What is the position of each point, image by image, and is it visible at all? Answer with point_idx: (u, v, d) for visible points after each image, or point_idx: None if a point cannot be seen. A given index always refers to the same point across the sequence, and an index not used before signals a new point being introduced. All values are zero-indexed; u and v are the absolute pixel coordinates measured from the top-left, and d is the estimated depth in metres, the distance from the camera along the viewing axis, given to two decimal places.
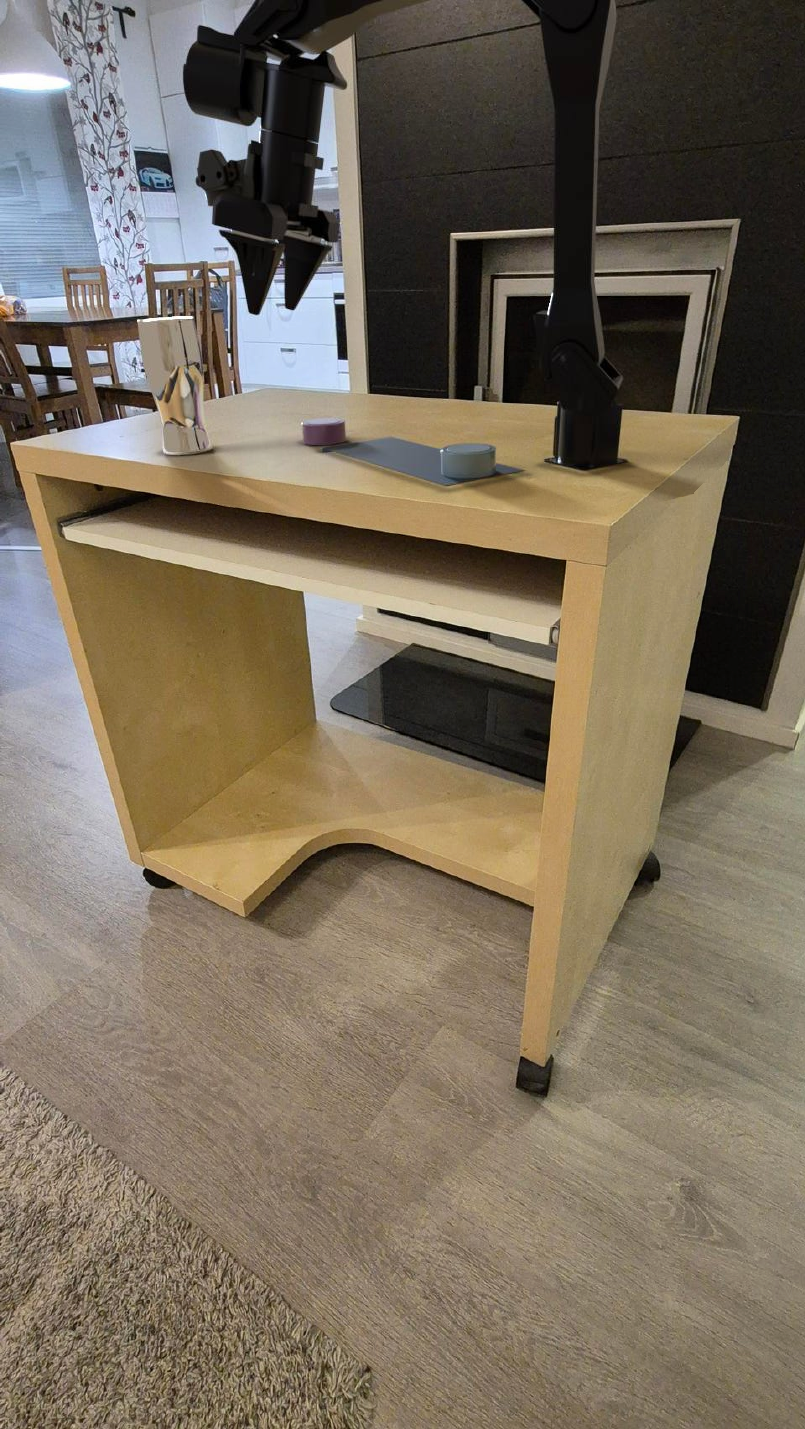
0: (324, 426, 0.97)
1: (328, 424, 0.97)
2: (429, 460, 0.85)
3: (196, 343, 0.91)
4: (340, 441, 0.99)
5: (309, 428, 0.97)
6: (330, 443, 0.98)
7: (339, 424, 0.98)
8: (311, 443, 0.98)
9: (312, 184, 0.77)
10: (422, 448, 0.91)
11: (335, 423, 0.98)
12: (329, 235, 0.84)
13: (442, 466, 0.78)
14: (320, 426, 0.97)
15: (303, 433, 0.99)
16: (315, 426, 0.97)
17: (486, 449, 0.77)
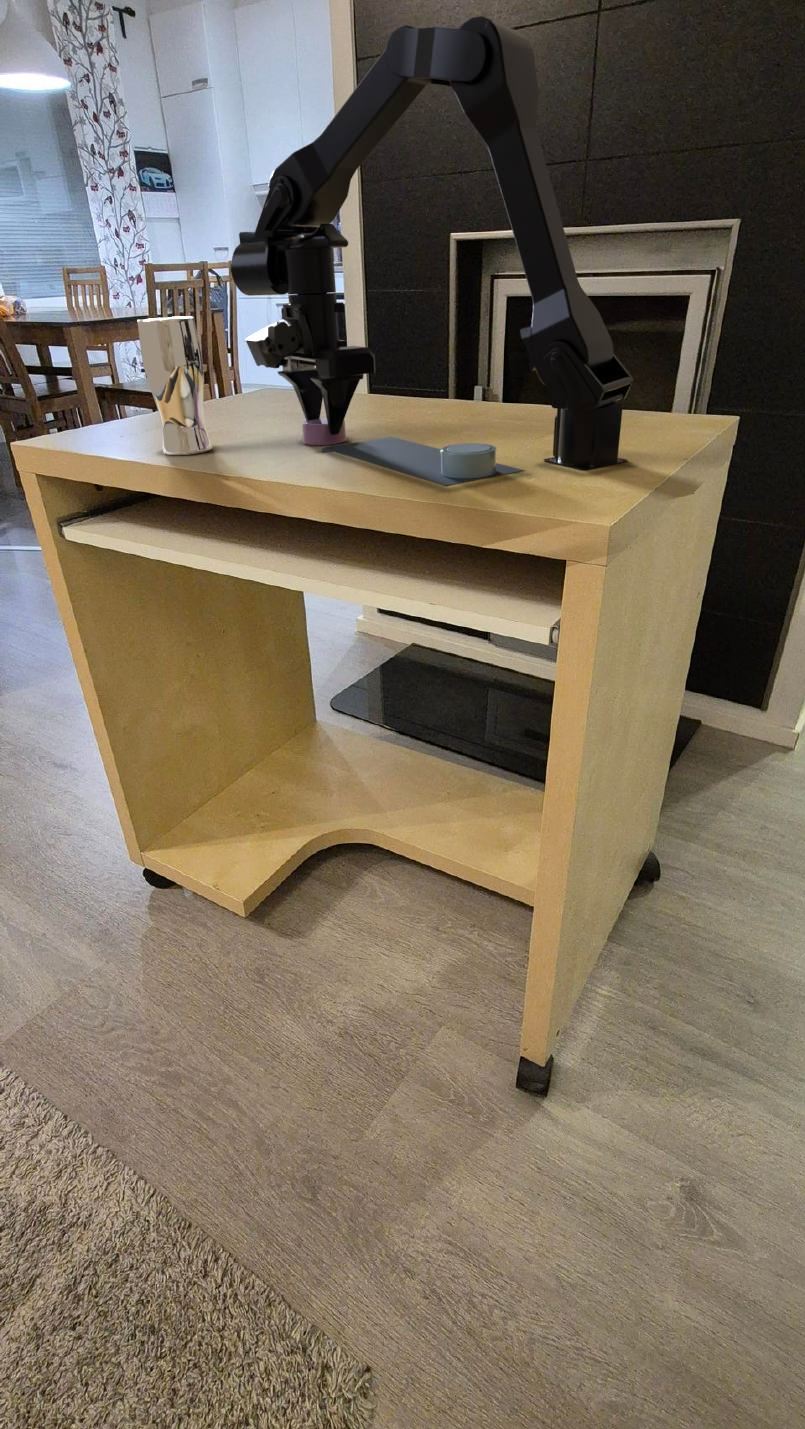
0: (324, 426, 0.97)
1: None
2: (429, 460, 0.85)
3: (196, 343, 0.91)
4: (340, 441, 0.99)
5: (309, 428, 0.97)
6: (330, 443, 0.98)
7: None
8: (311, 443, 0.98)
9: None
10: (422, 448, 0.91)
11: None
12: None
13: (442, 466, 0.78)
14: (320, 426, 0.97)
15: (303, 433, 0.99)
16: (315, 426, 0.97)
17: (486, 449, 0.77)
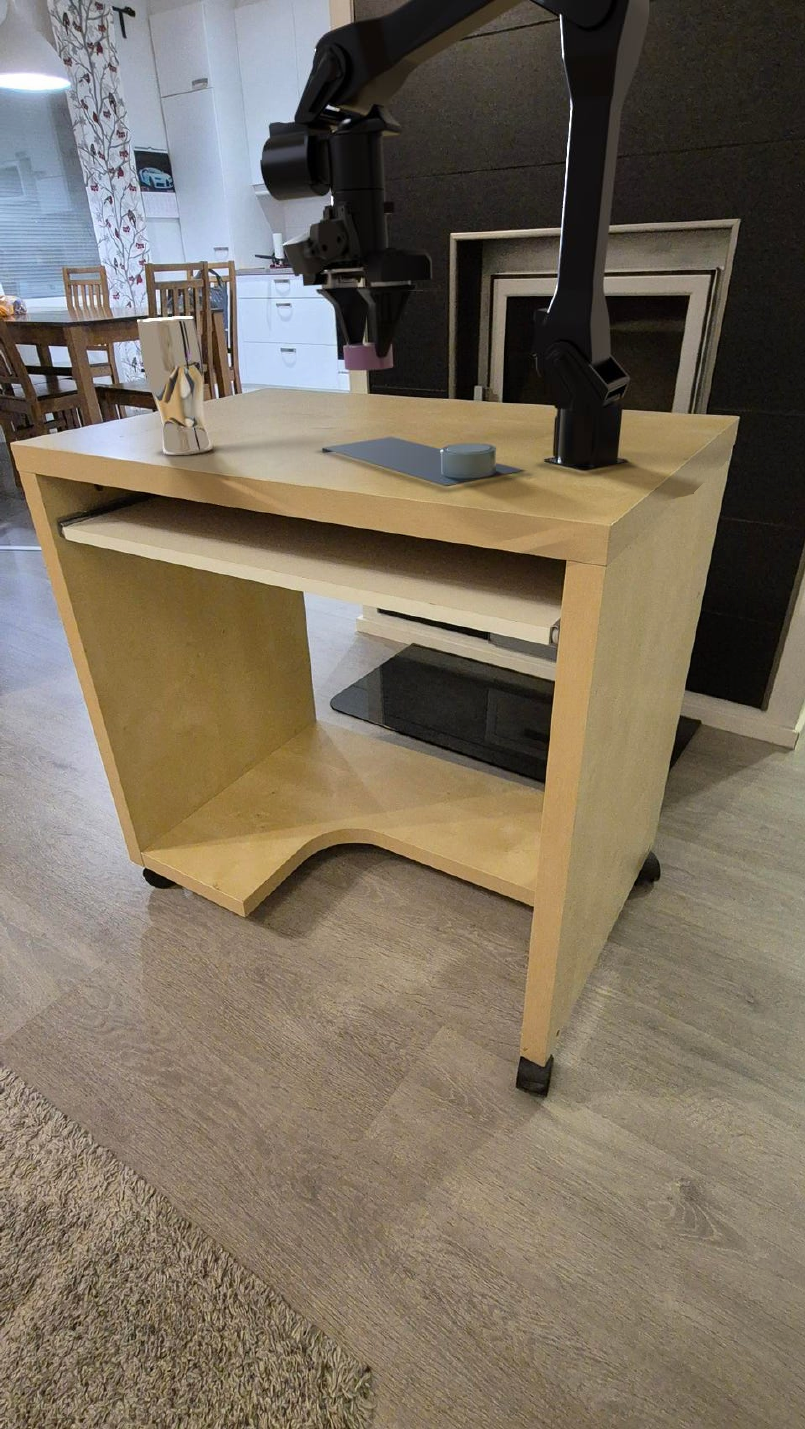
0: (370, 347, 0.85)
1: (374, 345, 0.86)
2: (429, 460, 0.85)
3: (196, 343, 0.91)
4: (387, 366, 0.87)
5: (353, 351, 0.86)
6: (376, 368, 0.86)
7: None
8: (355, 368, 0.87)
9: None
10: (422, 448, 0.91)
11: None
12: None
13: (442, 466, 0.78)
14: (366, 347, 0.85)
15: (345, 357, 0.87)
16: (360, 348, 0.85)
17: (486, 449, 0.77)
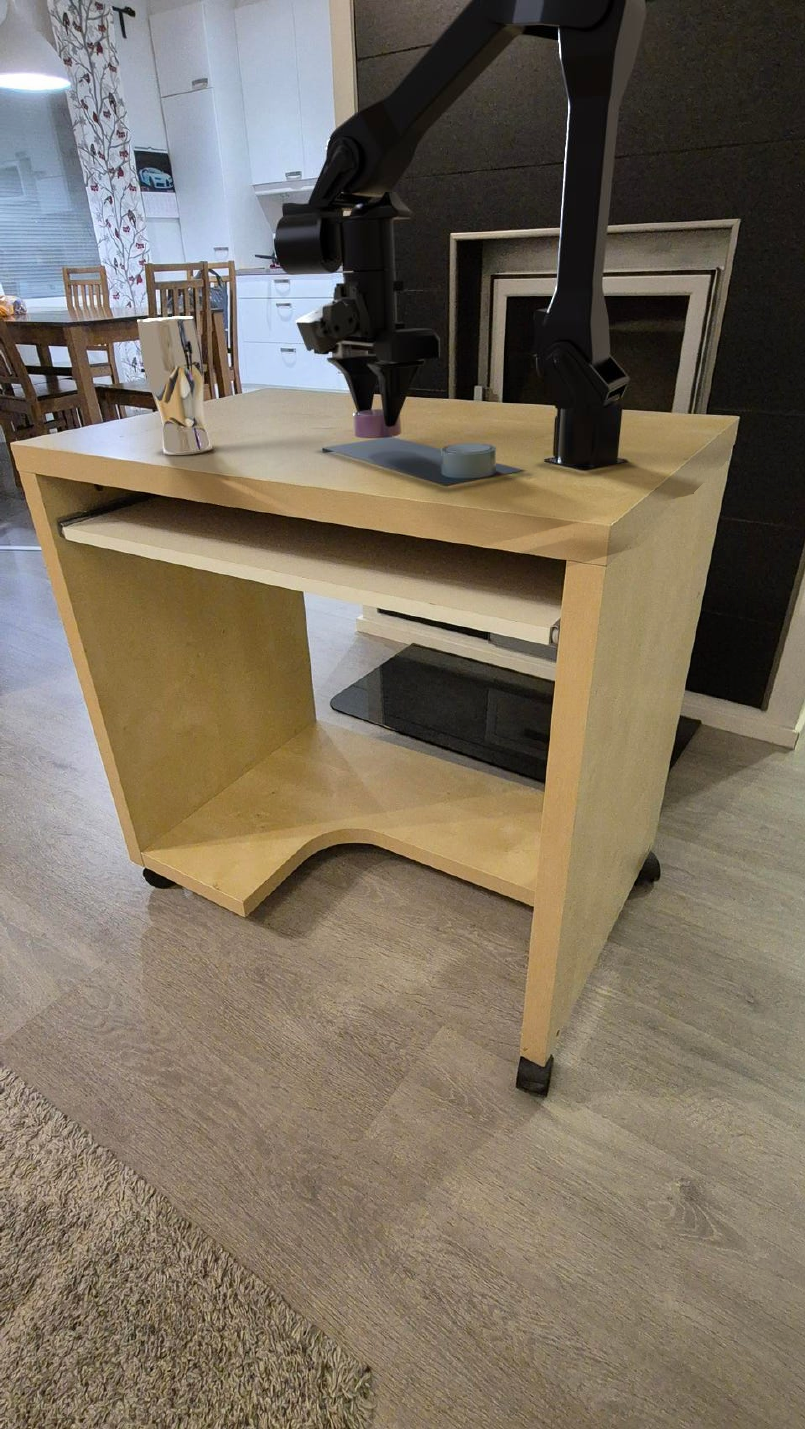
0: (379, 417, 0.88)
1: (383, 415, 0.89)
2: (429, 460, 0.85)
3: (196, 343, 0.91)
4: (396, 434, 0.90)
5: (363, 420, 0.89)
6: (385, 436, 0.89)
7: None
8: (364, 436, 0.90)
9: None
10: (422, 448, 0.91)
11: None
12: None
13: (442, 466, 0.78)
14: (375, 417, 0.88)
15: (355, 425, 0.90)
16: (369, 417, 0.88)
17: (486, 449, 0.77)
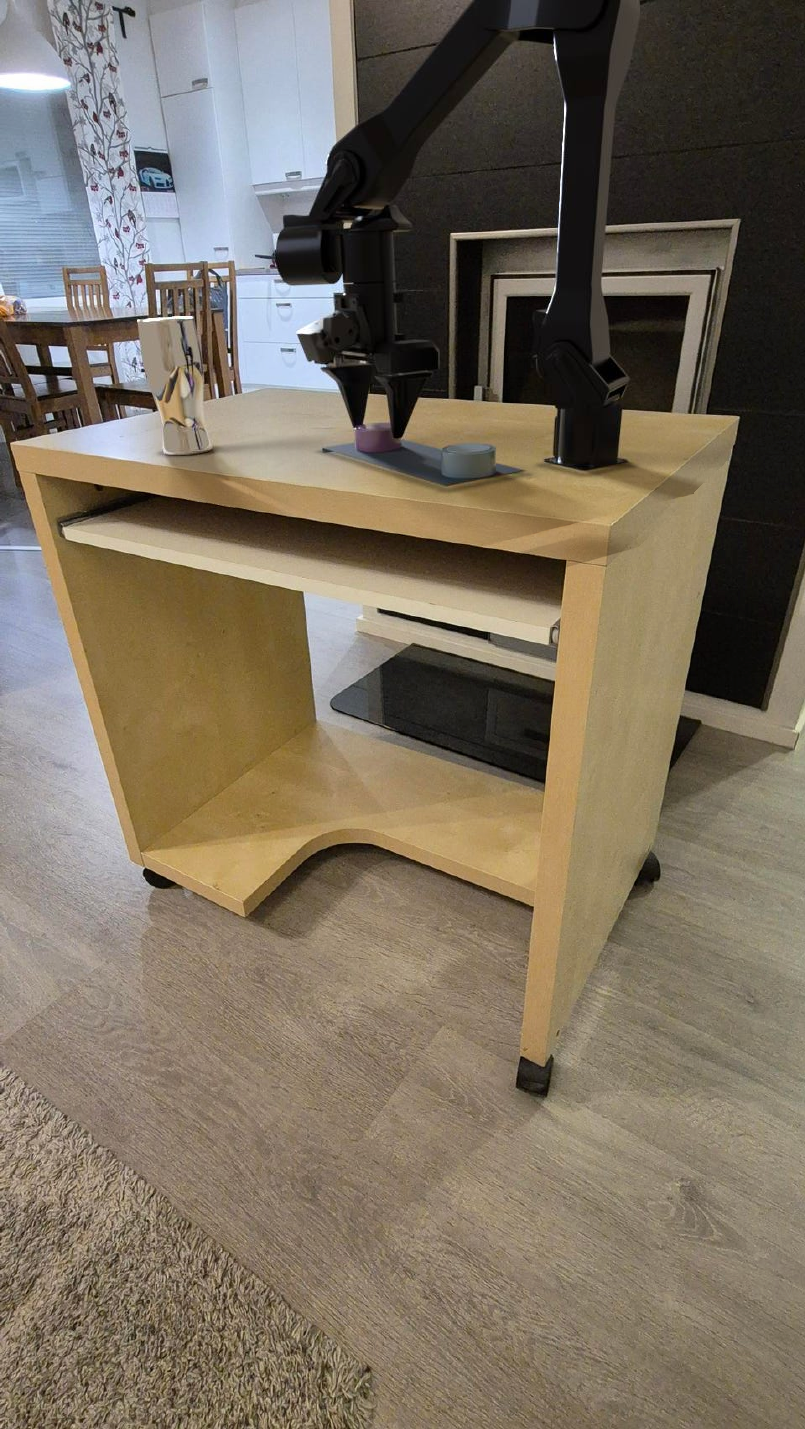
0: (380, 431, 0.89)
1: (384, 429, 0.89)
2: (429, 460, 0.85)
3: (196, 343, 0.91)
4: (396, 448, 0.91)
5: (363, 434, 0.89)
6: (386, 450, 0.90)
7: None
8: (365, 450, 0.90)
9: None
10: (422, 448, 0.91)
11: None
12: None
13: (442, 466, 0.78)
14: (376, 431, 0.89)
15: (356, 439, 0.91)
16: (370, 431, 0.89)
17: (486, 449, 0.77)
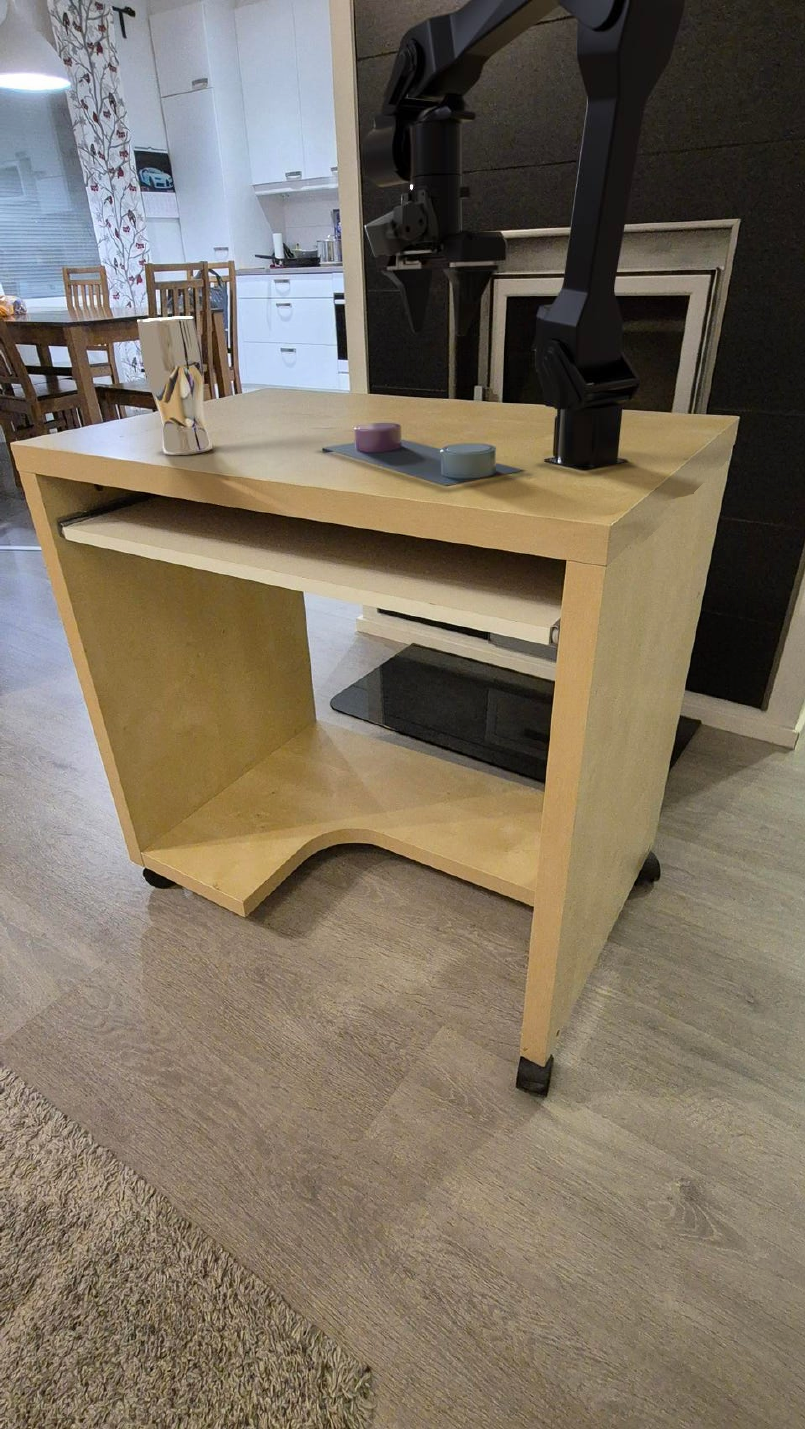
0: (380, 431, 0.89)
1: (384, 429, 0.89)
2: (429, 460, 0.85)
3: (196, 343, 0.91)
4: (396, 448, 0.91)
5: (363, 434, 0.89)
6: (386, 450, 0.90)
7: (396, 429, 0.90)
8: (365, 450, 0.90)
9: None
10: (422, 448, 0.91)
11: (391, 428, 0.90)
12: None
13: (442, 466, 0.78)
14: (376, 431, 0.89)
15: (356, 439, 0.91)
16: (370, 431, 0.89)
17: (486, 449, 0.77)
